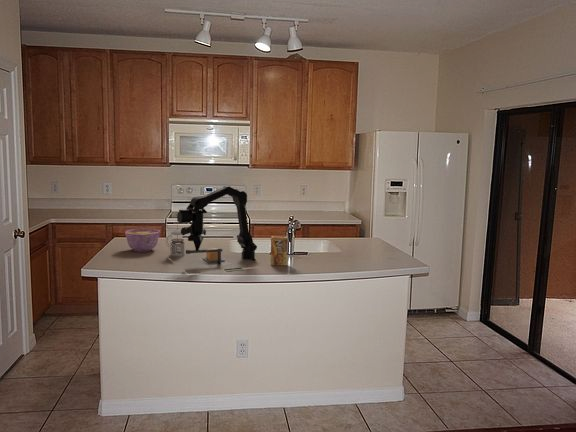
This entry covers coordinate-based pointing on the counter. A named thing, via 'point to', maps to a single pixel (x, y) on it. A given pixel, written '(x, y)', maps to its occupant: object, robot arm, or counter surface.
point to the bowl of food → (142, 239)
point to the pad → (233, 269)
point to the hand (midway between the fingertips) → (197, 250)
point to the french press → (173, 244)
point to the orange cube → (212, 256)
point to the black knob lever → (207, 251)
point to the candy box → (278, 250)
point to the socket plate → (215, 262)
